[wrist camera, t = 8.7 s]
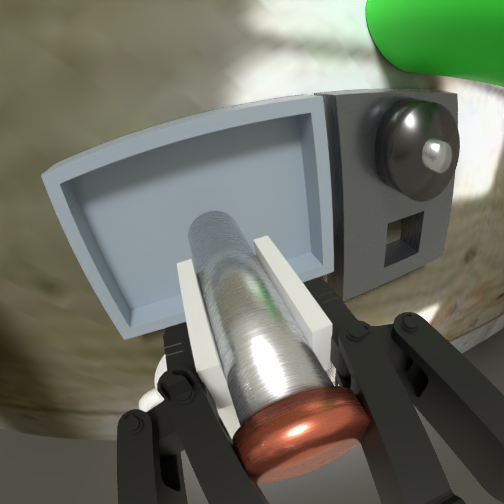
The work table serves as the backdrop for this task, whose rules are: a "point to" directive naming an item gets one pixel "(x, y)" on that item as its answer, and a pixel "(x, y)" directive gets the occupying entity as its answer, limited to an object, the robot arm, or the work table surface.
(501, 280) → the work table surface
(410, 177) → the grey block with dome
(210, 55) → the work table surface
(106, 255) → the tray
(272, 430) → the pin
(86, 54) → the work table surface
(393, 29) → the green-shelled ribbed roller
